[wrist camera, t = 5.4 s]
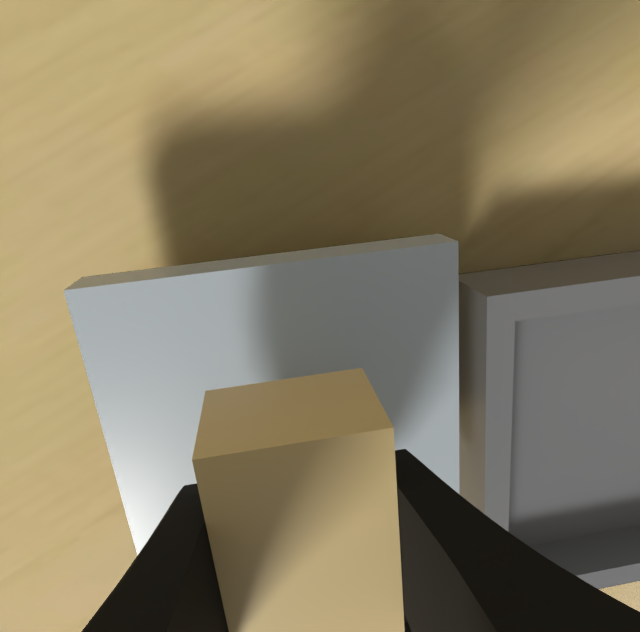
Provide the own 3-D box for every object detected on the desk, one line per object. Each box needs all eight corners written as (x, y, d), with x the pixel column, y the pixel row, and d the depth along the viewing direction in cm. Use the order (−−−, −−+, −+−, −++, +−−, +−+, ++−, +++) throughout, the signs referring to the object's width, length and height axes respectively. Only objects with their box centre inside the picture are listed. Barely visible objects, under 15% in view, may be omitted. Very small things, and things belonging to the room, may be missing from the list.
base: (768, 233, 16) (856, 246, 14) (715, 505, 20) (778, 552, 17) (449, 275, 15) (487, 296, 13) (453, 554, 18) (483, 612, 16)
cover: (439, 233, 12) (576, 288, 7) (443, 512, 15) (544, 698, 10) (82, 277, 11) (-58, 375, 6) (157, 564, 14) (105, 797, 9)
